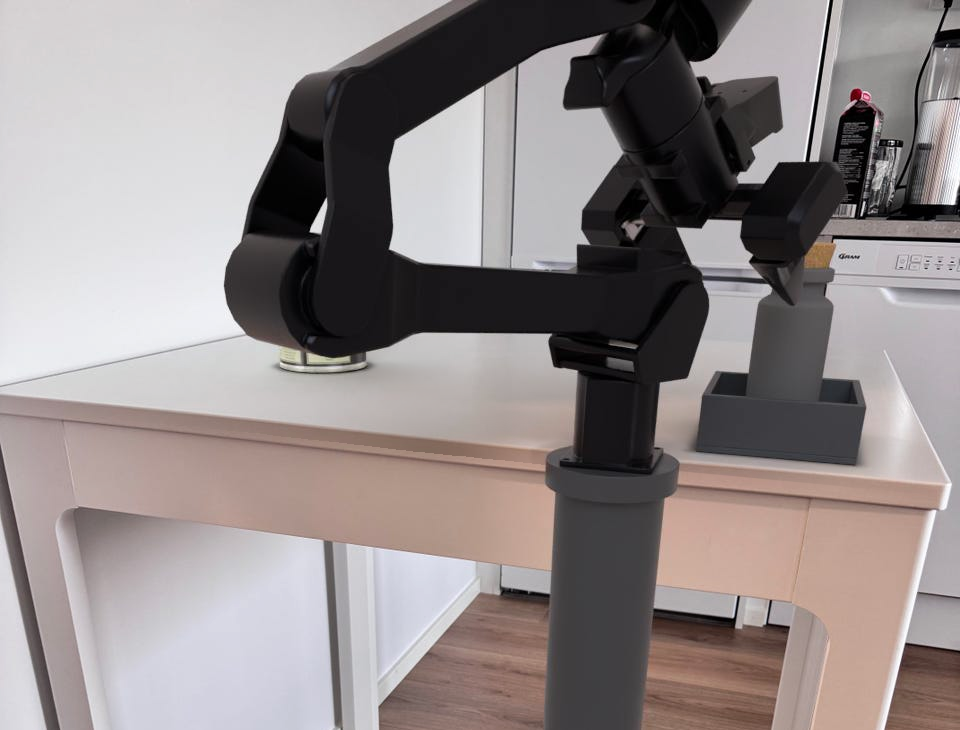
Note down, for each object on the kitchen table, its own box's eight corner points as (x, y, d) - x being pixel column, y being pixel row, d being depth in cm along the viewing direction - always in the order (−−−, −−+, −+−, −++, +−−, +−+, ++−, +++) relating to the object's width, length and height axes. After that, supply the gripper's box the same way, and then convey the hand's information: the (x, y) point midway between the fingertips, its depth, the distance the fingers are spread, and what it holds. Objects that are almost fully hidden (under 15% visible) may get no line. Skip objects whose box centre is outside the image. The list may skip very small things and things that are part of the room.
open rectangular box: (855, 465, 73) (866, 406, 71) (695, 451, 76) (702, 394, 74) (850, 431, 84) (859, 380, 82) (709, 420, 87) (715, 370, 85)
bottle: (727, 434, 80) (752, 241, 73) (761, 424, 83) (787, 240, 77) (792, 447, 76) (824, 244, 70) (824, 435, 80) (857, 243, 74)
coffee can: (334, 356, 118) (329, 233, 112) (384, 367, 111) (381, 236, 105) (261, 364, 112) (251, 234, 106) (310, 376, 105) (302, 238, 99)
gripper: (860, 3, 54) (917, 215, 65) (619, 37, 67) (700, 209, 78) (758, 152, 53) (833, 342, 64) (532, 158, 66) (627, 315, 77)
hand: (743, 295), depth 71 cm, fingers open, 9 cm apart
